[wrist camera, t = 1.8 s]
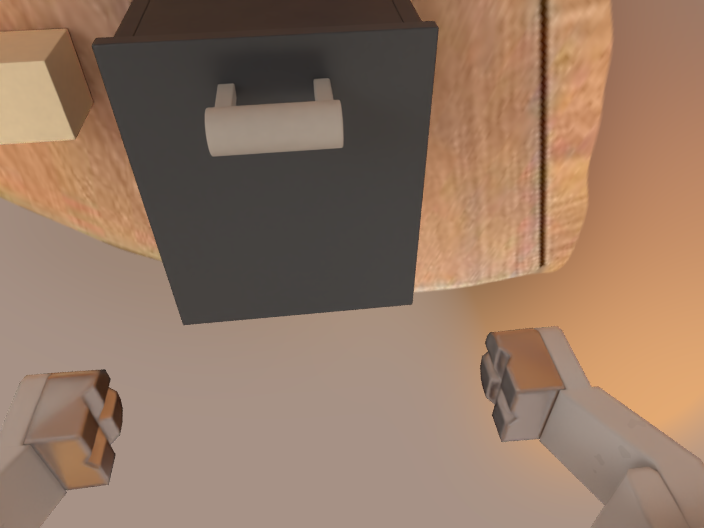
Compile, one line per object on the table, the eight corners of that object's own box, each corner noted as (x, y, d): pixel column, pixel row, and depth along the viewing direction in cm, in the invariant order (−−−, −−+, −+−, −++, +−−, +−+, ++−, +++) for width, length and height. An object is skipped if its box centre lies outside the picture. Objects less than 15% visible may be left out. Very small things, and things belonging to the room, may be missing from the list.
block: (-17, 32, 31) (-50, 65, 27) (67, 28, 31) (44, 60, 28) (17, 107, 34) (-9, 145, 30) (93, 102, 34) (75, 140, 31)
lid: (95, 37, 22) (61, 95, 18) (435, 20, 23) (467, 72, 19) (184, 315, 33) (174, 386, 30) (410, 295, 34) (427, 361, 31)
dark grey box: (141, -18, 30) (101, 56, 23) (394, -29, 31) (432, 39, 24) (198, 214, 41) (184, 315, 33) (385, 200, 42) (410, 295, 35)
